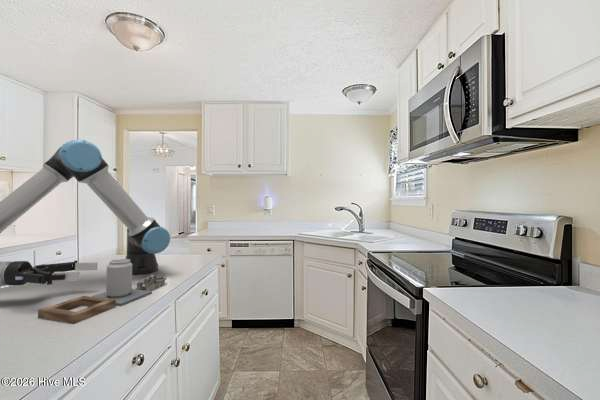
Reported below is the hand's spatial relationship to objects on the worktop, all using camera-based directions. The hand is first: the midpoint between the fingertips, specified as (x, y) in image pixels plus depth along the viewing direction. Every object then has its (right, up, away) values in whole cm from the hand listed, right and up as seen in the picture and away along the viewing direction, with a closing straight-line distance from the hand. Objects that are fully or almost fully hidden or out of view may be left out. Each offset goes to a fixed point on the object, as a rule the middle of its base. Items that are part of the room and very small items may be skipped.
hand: (88, 270), depth 96 cm
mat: (+9, -10, +2) cm, 14 cm away
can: (+9, -9, +2) cm, 13 cm away
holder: (+5, -10, -11) cm, 16 cm away
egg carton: (+13, -11, +15) cm, 23 cm away
